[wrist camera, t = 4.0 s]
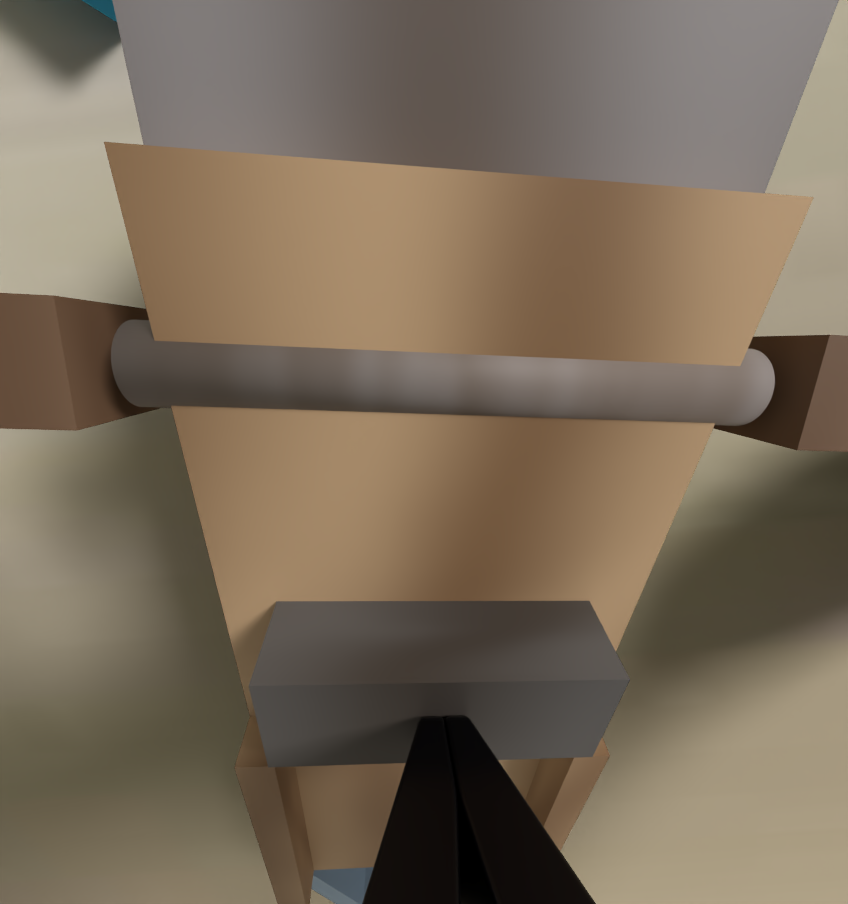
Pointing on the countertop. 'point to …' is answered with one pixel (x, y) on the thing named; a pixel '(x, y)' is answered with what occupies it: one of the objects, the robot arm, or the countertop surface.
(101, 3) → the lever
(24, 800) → the countertop surface
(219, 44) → the tipping lever
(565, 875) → the robot arm
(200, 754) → the countertop surface
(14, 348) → the lever stand
